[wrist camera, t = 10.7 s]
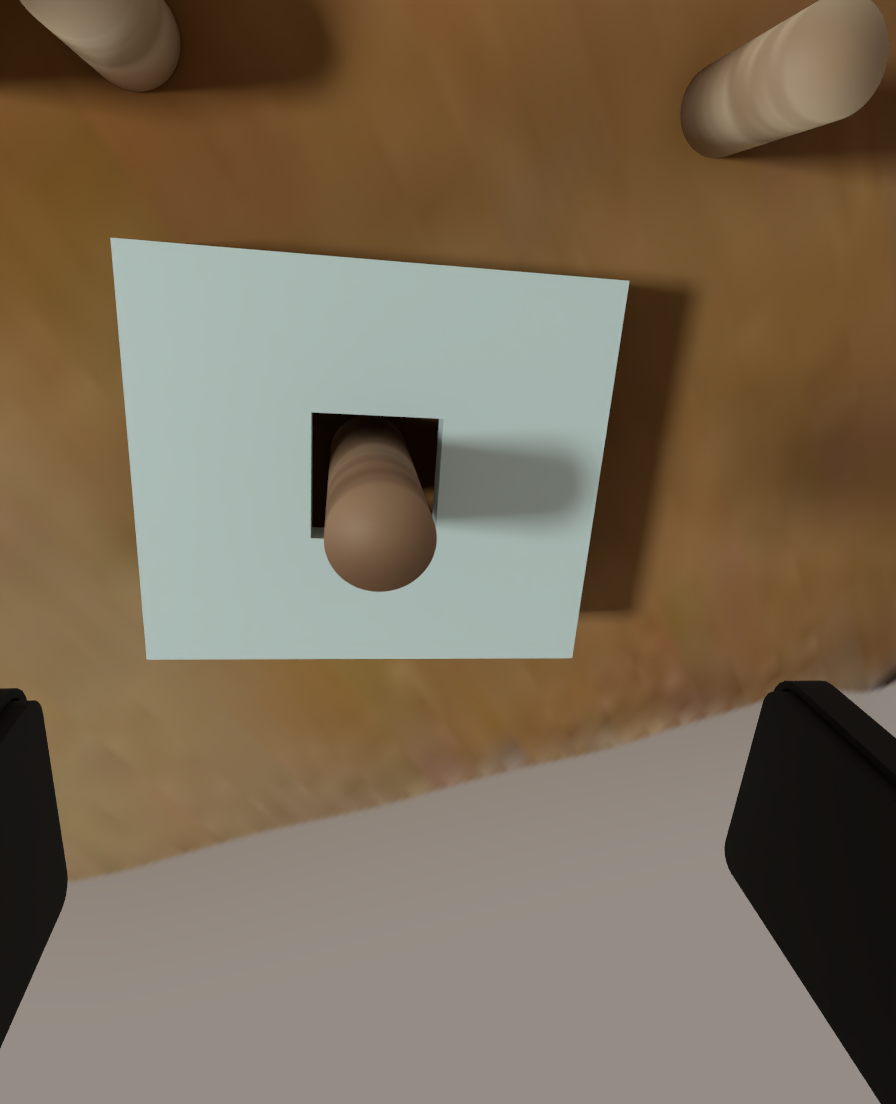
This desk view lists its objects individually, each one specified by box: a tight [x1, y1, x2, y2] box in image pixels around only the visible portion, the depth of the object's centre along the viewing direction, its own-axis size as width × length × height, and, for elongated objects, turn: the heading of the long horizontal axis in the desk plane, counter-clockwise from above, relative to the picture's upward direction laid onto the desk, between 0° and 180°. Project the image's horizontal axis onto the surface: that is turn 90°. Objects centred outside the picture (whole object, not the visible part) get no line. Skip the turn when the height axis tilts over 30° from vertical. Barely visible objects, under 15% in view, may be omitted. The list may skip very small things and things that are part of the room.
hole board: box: [111, 238, 629, 660], centre depth 26 cm, size 14×16×4 cm
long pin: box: [324, 415, 437, 592], centre depth 23 cm, size 3×3×10 cm
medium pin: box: [681, 0, 889, 158], centre depth 22 cm, size 3×3×6 cm
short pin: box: [20, 0, 180, 92], centre depth 20 cm, size 3×3×5 cm
